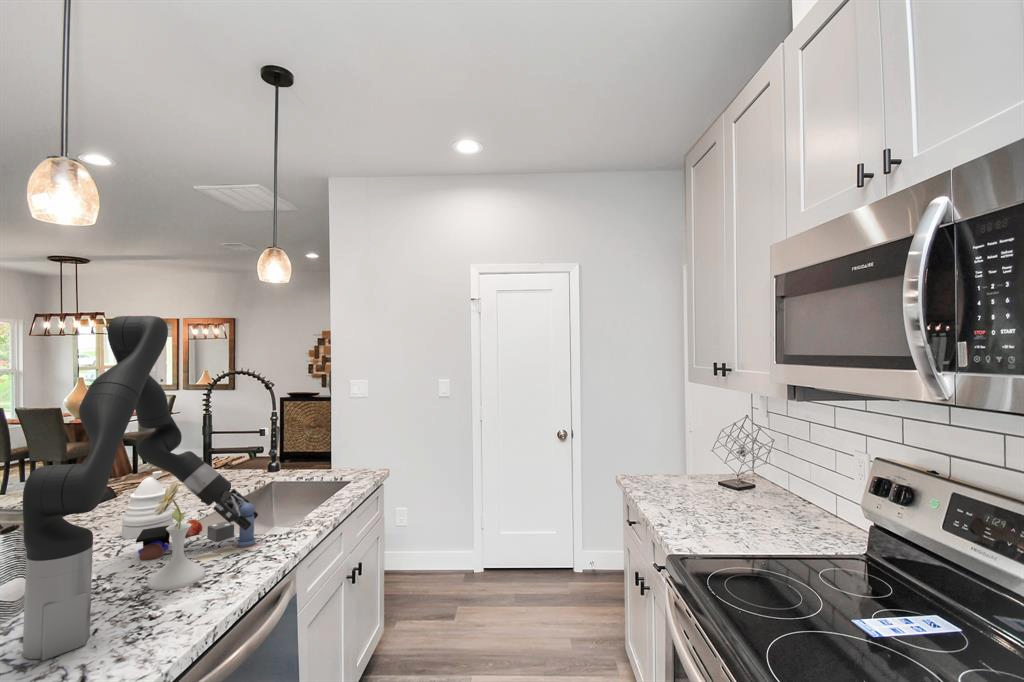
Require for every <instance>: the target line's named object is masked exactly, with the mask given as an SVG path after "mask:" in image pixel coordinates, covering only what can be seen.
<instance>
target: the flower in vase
mask: <svg viewBox="0 0 1024 682" xmlns="http://www.w3.org/2000/svg"><path fill="white" fill-rule="evenodd" d="M178 481H179V480H178ZM178 481H176V482H174V481H173V482H172V483H171V484H170V486H169V487H167V488H165V489H166V491H165V494H164V497H163V498H161V499H160V500H159V502H158V503H161V504H160V505H159V506H158V507H157V509H156V510H155V512H157V511H158V512H157V514H156V516H157V515H158V514H159V515H160V514H162V513H163V512H165V511H166V509H167V508H168V507H169V505H170V504H171V505H172V503H173V504H174V506H175V507H176V508H175V510H173V514H172V518H173V520H175V521H176V523H175V524H173V525H171V526H169V527H167V528H166V530H167V531H168V532H169V533H170V537H171V543H172V554H171V557H170V560H169V561H168V562H166V564H165V565H163V566H162V567H161V568H159V569H158V570H157V571H156V572H155V573H154V574H153V575H152V576H151V577H150V579H149V580H148V582H147V588H148V589H150V590H153V591H159V592H160V591H161V592H162V591H170V590H172V591H173V590H177V589H180V588H186V587H188V586H191V585H194V584H196V583H198V582H199V581H201V580H202V579H204V578H205V577H206V574H207V572H206V570H205V568H204V567H203V566H202V565H200V564H198V563H197V562H195V561H192V560H190V559H188V558H187V557H186V555H185V541H186V540H185V539H186V538H185V536H186V533H187V531H188V529H189V528H190V527H191V524H190V523H186V522H184V523H183V520H184V519H185V515H184V514H183V513H182V512H181V510H180V508H179V505H178V504H177V502H176V500H175V497H176V495H177V493H178V491H179V487H180V485H179V484H180V483H179V482H178ZM181 522H182V523H181Z"/></svg>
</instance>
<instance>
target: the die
mask: <svg viewBox="0 0 1024 682" xmlns="http://www.w3.org/2000/svg"><path fill="white" fill-rule="evenodd" d="M206 531H207V533H206V535H207V539H208V540H210V541H211V542H215V543H218V542H222V541H224V540H227V539H231V538H234V537H235V524H234V523H232V522H231V523H229V522H228V521H227V520H226V521H222V522H219V523H218V522H217V523H214V524H211V525H207V530H206Z"/></svg>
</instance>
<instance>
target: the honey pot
mask: <svg viewBox="0 0 1024 682" xmlns="http://www.w3.org/2000/svg"><path fill="white" fill-rule="evenodd" d="M151 473H152V476H148V477H145V478H144V479H143V480H142V481H141V482H140V483H139V485H138V486H137V488H136V489H135V491H134V492H133V493H131V494H130V495H129V498H130V500H129V503H128V505H127V506H126V510H125V512H124V515H123V517H122V520H121V521H122V522H121V523H122V525H121V537H122V538H123V539H126V538H127V540H129V539H130V540H136V539H137V538H138V536H139V535H140V533H141V532H142V530H143V529H150V528H156V527H162V526H168V525H169V526H171V525H174V519H173V518H172V514H173V513H174V509H173V508H172V503H171V504H170V505H169V507H168V508H167V509H166V511H165V512H163V513H162V514H160V515H159V514H158V515H157V516H156V514H157V512H158V511H157V512H155V510H156V509H157V507H158V506H159V505H160V504H161V503H158V502H159V500H160V499H161V498H163V497H164V494H165V491H166V489H167V488H164V487H163V486H162V484H161V482H160V481H159V480H158V479H160V478H161V477H162V475H163V470H162V471H161V470H159V471H158V470H157V471H153V472H151Z"/></svg>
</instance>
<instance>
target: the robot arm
mask: <svg viewBox="0 0 1024 682" xmlns="http://www.w3.org/2000/svg"><path fill="white" fill-rule="evenodd" d="M168 335H169V327H168V325H167V322H166V320H165V319H163V318H162V317H159V316H155V315H154V316H153V315H121V316H120V315H119V316H115V317H114V318H112V319H111V320H110V321H109V323H108V326H107V339H108V340H107V341H108V343H109V346H110V347H109V348H110V350H111V352H112V354H113V356H114V358H115V361H116V364H115V365H113V366H112V367H110V368H109V369H107V370H106V371H104V372H103V373H102V374H100V375H99V376H97V377H96V378H95V379H94V380H93V382H91V384H90V385H89V387H88V389H87V391H86V393H85V395H84V396H83V398H82V400H81V403H80V405H79V408H78V414H79V420H80V422H81V424H82V427H83V430H84V431H85V433H86V435H87V437H88V440H89V444H90V449H89V452H88V455H87V456H86V459H85V460H84V462H82V463H71V464H70V463H69V464H53V465H52V464H51V465H50V464H49V465H43V466H39V467H37V468H35V469H33V470H32V472H31V473H30V474H29V475H28V476H27V478H26V480H25V482H24V487H23V493H22V521H23V522H22V523H23V525H22V526H23V544H24V546H25V550H26V557H25V558H26V562H25V581H24V582H25V583H24V607H23V609H24V610H23V611H24V612H23V630H22V631H23V637H22V638H23V639H22V640H23V641H22V642H23V643H22V657H24V658H25V659H29V660H41V661H47V660H48V659H52V658H54V657H57V656H60V655H62V654H64V653H65V654H66V653H67V652H70V651H72V650H75V649H78V648H81V647H83V646H86V645H87V644H88V643H87V641H88V640H89V639H90V637H91V635H90V634H91V617H92V615H91V612H92V611H91V608H92V578H93V554H94V553H93V552H94V551H93V549H94V533H93V531H92V530H91V529H89V528H87V527H83V526H80V525H76V524H73V523H71V522H69V521H68V520H66V519H65V518H64V517H63V516H65V515H67V516H68V515H79V514H87V513H90V512H92V511H93V510H95V509H96V508H97V507H98V506H99V504H100V503H101V501H102V499H103V497H104V495H105V493H106V490H107V487H108V484H109V480H110V478H111V474H112V472H113V471H112V470H113V468H114V464H115V460H116V457H117V454H118V450H119V448H120V445H121V443H122V440H123V438H124V435H125V433H126V430H127V428H128V426H129V423H130V421H131V419H132V417H133V416H134V412H135V415H136V419H137V423H138V425H139V426H140V427H141V428H143V429H147V430H151V429H154V431H152V432H151V433H148V434H147V435H146V436H144V437H142V438H141V439H139V440H138V442H137V444H136V446H135V450H136V452H137V455H138V457H139V458H140V459H141V460H143V461H145V462H146V463H148V464H150V465H152V466H155V467H157V468H159V469H160V470H162V471H165V472H167V473H169V474H172V475H173V476H174V477H175V478H176V479H178V481H179V482H181V483H183V485H184V486H185V487H186V488H187V489H188V490H189V491H190V492H191V493H192V494H193V495H194V496H196V497H197V498H199V500H201V502H203V503H204V504H205V505H206V506H211V505H212V504H213V503H215V505H214V507H213V511H215V512H217V514H218V515H220V516H221V517H222V518H223V519H224V520H226V522H229V523H231V524H232V523H235V524H237V525H238V526H239V527H241V528H243V529H244V530H247V529H248V528H249V527H250V526H251V524H252V523H251V522H250V521H249V520H247V519H246V518H245V517H244V516H243V515H241V513H240V512H239V510H240V507H241V506H242V505H243V504H245V503H250V500H249V499H247V498H246V497H245V496H243V495H242V494H241V493H240V492H239V491H237V490H236V489H235V488H233V489H231V491H230V490H228V489H229V488H230V487H231V486H232V483H231V482H230V481H229V480H227V479H226V478H225V477H224V476H223V475H222V474H220V473H219V471H217V470H216V469H215V468H213V467H212V466H211V465H209V464H207V462H205V461H204V460H203V459H202V458H200V457H199V456H198V454H196V453H194V452H193V451H192V450H191V451H189V450H188V451H184V452H181V453H179V454H176V453H174V452H173V451H174V450H175V449H177V448H178V447H179V446H180V445H181V442H182V438H183V437H182V432H181V430H180V428H179V426H178V425H177V423H176V421H175V420H174V418H173V416H172V415H171V414H170V408H169V403H168V398H167V394H166V392H165V391H164V388H163V387H162V385H161V384H159V383H158V381H157V380H155V378H154V377H153V376H151V375H150V373H151V372H152V370H153V368H154V366H155V364H156V363H157V361H158V359H159V357H160V355H161V354H162V352H163V350H164V348H165V346H166V343H167V341H168ZM253 514H254V520H255V519H256V518H257V517H258V516H259V513H258V512H257V511H256V510H255V511H254V513H253Z"/></svg>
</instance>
